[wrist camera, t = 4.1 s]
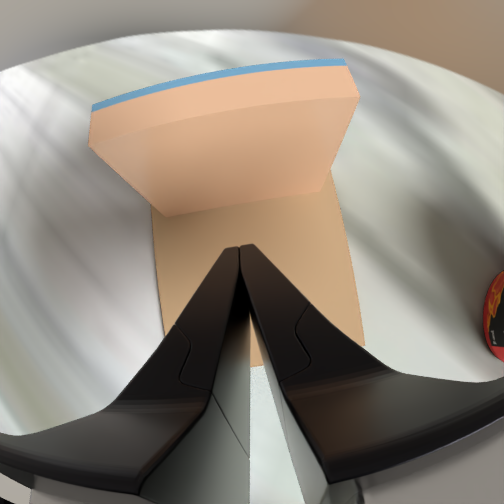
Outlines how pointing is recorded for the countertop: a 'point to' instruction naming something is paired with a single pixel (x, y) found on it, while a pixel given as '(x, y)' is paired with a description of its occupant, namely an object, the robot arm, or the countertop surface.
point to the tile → (228, 134)
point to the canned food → (495, 317)
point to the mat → (273, 247)
